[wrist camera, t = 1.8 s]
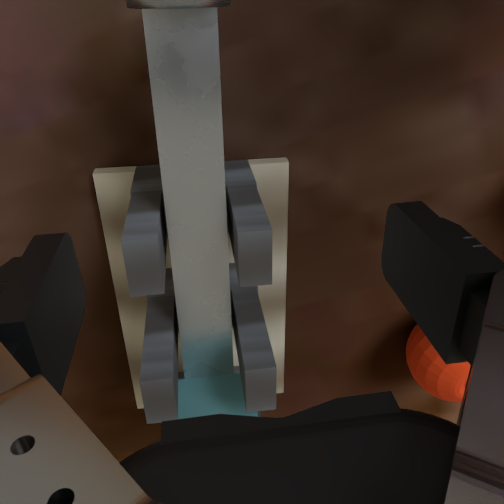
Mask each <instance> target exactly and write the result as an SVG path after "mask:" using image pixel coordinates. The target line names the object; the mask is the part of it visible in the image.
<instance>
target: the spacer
mask: <svg viewBox="0 0 504 504" xmlns="http://www.w3.org/2000/svg"><path fill="white" fill-rule="evenodd" d="M214 414H230V415H243V416H256V417H258V413H257V411H256V412H248V413H246V407H245V401H244V394H243V388H242V381H241V375H240V373H236V374H226V375H217V376H207V377H198V378H189V379H179V380H178V419H184V418H192V417H199V416H207V415H214Z"/></svg>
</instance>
